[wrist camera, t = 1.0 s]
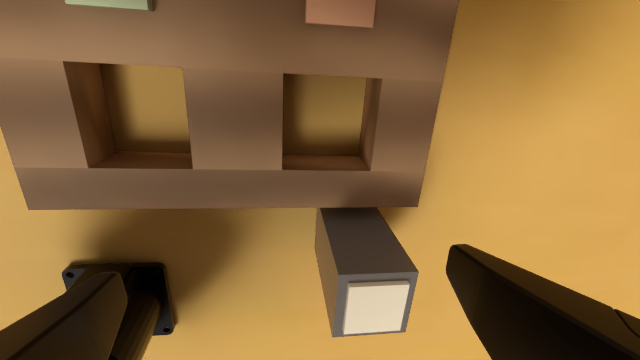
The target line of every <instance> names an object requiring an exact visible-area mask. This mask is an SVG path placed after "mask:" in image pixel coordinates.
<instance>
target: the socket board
mask: <svg viewBox="0 0 640 360" xmlns="http://www.w3.org/2000/svg"><path fill="white" fill-rule="evenodd" d="M458 3H459V0H0V127H1V130H2V133H3V135H4V138H5V141H6V144H7V147H8V150H9V153H10V156H11V159H12V162H13V165H14V168H15V171H16V174H17V177H18V180H19V183H20V186H21V189H22V192H23V195H24V198H25V201H26V204H27V207H28V210H67V209H203V208H339V207H418V203H419V198H420V193H421V188H422V183H423V178H424V173H425V168H426V163H427V158H428V153H429V148H430V143H431V138H432V133H433V128H434V123H435V118H436V113H437V108H438V103H439V98H440V93H441V88H442V83H443V78H444V73H445V68H446V63H447V58H448V53H449V48H450V43H451V38H452V33H453V28H454V23H455V18H456V13H457V8H458ZM99 63H106V64H125V65H143V66H161V67H179V68H183V77H184V86H185V96H186V106H187V115H188V125H189V135H190V144H191V153H180V152H122V151H116V148H115V143H114V138H113V133H112V128H111V123H110V118H109V113H108V108H107V103H106V98H105V93H104V87H103V82H102V77H101V72H100V67H99ZM283 73H289V74H307V75H325V76H344V77H362V78H367V81H366V90H365V99H364V108H363V117H362V126H361V135H360V144H359V153H358V156H352V155H295V154H282V125H283Z"/></svg>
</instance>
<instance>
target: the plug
mask: <svg viewBox="0 0 640 360" xmlns="http://www.w3.org/2000/svg"><path fill="white" fill-rule="evenodd" d="M315 252H316V257H317V262H318V267H319V272H320V277H321V282H322V288H323V293H324V298H325V303H326V308H327V313H328V318H329V323H330V328H331V333H332V337H344V336H358V335H372V334H386V333H400V332H405V331H406V327H407V322H408V318H409V313H410V309H411V304H412V300H413V295H414V291H415V286H416V282H417V277H418V273H419V272H418V270H417V268H416V267H415V265H414V264H413V262H412V261H411V259H410V258H409V256H408V255H407V253H406V252H405V250H404V249H403V247H402V246H401V244H400V243H399V241H398V239H397V238H396V236H395V235H394V233H393V232H392V230H391V229H390V227H389V226H388V224H387V223H386V221H385V220H384V218H383V217H382V215H381V214H380V212H379V210H378V209H377V207H339V208H317V218H316V234H315Z"/></svg>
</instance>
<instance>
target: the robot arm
mask: <svg viewBox="0 0 640 360" xmlns="http://www.w3.org/2000/svg"><path fill="white" fill-rule="evenodd" d="M155 269H158V270H160V271H156V270H155ZM70 272H72V273H73V274H72V273H70ZM446 274H447V277H448V279H449V281H450V283H451V285H452V287H453V289H454V291H455V293H456V295H457V298H458V300H459V302H460V304H461V306H462V308H463V310H464V312H465V314H466V316H467V318H468V320H469V322H470V324H471V326H472V327H473V329H474V331H475V332H476V334H477V336H478V337H479V339H480V341H481V342H482V344H483V346H484V347H485V349H486V351H487V352H488V354H489V355H490V357H491V359H492V360H640V319H638V318H636V317H633V316H631V315H629V314H626V313H624V312H622V311H620V310H617V309H613V308H612V307H610V306H608V305H606V304H603V303H601V302H599V301H596V300H594V299H592V298H589V297H587V296H585V295H583V294H580V293H578V292H576V291H573V290H571V289H569V288H566V287H564V286H562V285H559V284H557V283H555V282H553V281H550V280H548V279H546V278H543V277H541V276H539V275H536V274H534V273H532V272H530V271H527V270H525V269H523V268H520V267H518V266H516V265H513V264H511V263H509V262H506V261H504V260H502V259H500V258H497V257H495V256H493V255H490V254H488V253H486V252H483V251H481V250H479V249H476V248H474V247H472V246H470V245H467V244H457V245H452V246H451V247H450V250H449V255H448V260H447V265H446ZM62 277H63V280H64V283H65V286H66V290H67V291H66V292H65V293H64V294H63V295H61V296H59V297H57V298H56V299H54V300H52V301H51V302H49V303H47V304H45V305H44V306H42V307H40V308H39V309H37V310H35V311H34V312H32V313H30V314H28V315H27V316H25V317H23V318H22V319H20V320H18V321H16V322H15V323H13V324H11V325H10V326H8V327H6V328H4V329H3V330H1V331H0V360H142V357H143V355H144V353H145V351H146V348H147V346H148V344H149V342H150V339H151V337H152V336H155V335H168V334H171V333H172V332H173V331H174V328H175V322H174V316H173V310H172V304H171V297H170V291H169V285H168V279H167V272H166V267H165V266H164V265H163V264H161V263H132V264H128V263H122V264H91V265H71V266H68V267H67V268H66V269H65V270H64V271H63V272H62ZM166 327H167V328H166Z"/></svg>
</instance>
